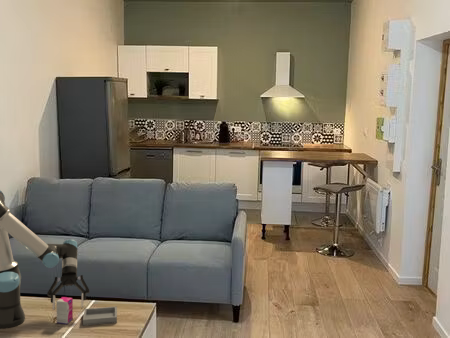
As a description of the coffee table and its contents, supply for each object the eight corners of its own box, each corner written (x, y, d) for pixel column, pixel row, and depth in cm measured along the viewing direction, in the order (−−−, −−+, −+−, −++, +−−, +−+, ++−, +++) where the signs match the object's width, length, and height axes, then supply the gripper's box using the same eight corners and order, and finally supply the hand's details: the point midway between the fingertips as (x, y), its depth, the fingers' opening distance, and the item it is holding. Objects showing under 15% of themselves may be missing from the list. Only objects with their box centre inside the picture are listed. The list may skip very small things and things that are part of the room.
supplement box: (67, 324, 234) (66, 302, 233) (56, 323, 236) (55, 301, 234) (73, 319, 240) (72, 297, 239) (62, 318, 241) (61, 296, 240)
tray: (83, 325, 233) (82, 319, 233) (84, 314, 246) (84, 308, 246) (116, 322, 237) (116, 317, 237) (116, 311, 249) (116, 306, 249)
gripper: (94, 269, 257) (94, 308, 244) (45, 273, 251) (42, 312, 239) (94, 263, 251) (93, 302, 238) (43, 266, 245) (40, 307, 233)
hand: (68, 307), depth 239 cm, fingers open, 13 cm apart
